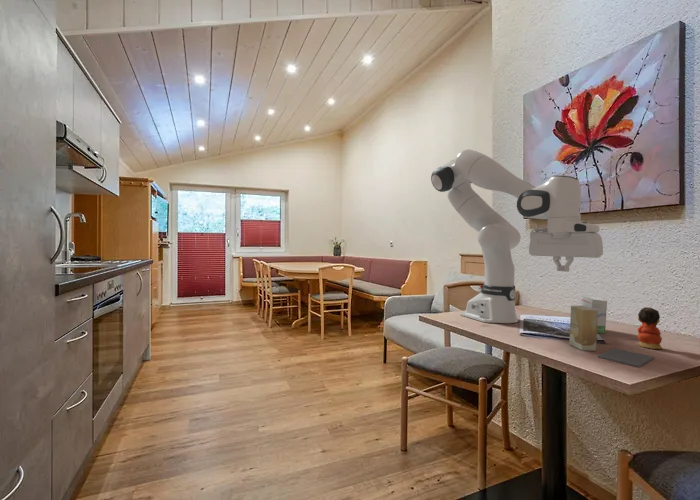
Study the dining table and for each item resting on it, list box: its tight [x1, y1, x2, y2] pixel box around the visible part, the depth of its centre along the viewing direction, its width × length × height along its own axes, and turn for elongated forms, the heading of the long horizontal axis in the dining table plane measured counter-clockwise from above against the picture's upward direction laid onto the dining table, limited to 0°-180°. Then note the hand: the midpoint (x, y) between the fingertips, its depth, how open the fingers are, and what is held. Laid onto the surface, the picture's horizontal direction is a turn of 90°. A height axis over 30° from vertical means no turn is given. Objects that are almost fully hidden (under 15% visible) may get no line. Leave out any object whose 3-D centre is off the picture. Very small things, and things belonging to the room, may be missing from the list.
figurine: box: [637, 306, 663, 350], centre depth 102 cm, size 6×6×12 cm
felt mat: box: [597, 347, 655, 368], centre depth 93 cm, size 9×12×1 cm
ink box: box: [580, 295, 608, 334], centre depth 121 cm, size 9×5×12 cm, turn 168°
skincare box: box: [568, 305, 598, 352], centre depth 101 cm, size 6×4×12 cm
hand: (562, 271), depth 106 cm, fingers closed
